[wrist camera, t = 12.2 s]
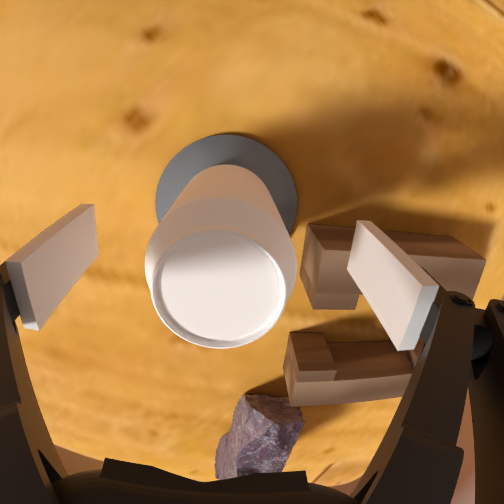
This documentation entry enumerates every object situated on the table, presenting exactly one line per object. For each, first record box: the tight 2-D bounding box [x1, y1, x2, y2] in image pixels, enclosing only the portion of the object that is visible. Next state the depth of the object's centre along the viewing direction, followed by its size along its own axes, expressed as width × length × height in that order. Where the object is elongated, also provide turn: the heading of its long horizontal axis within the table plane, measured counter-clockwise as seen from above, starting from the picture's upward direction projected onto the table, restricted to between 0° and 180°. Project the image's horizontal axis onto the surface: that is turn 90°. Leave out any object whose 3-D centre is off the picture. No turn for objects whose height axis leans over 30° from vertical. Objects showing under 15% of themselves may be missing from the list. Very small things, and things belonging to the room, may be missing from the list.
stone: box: [215, 394, 305, 480], centre depth 28 cm, size 10×6×15 cm
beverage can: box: [145, 164, 297, 348], centre depth 17 cm, size 6×6×12 cm
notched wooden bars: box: [283, 224, 486, 407], centre depth 25 cm, size 14×14×5 cm
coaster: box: [156, 135, 297, 234], centre depth 23 cm, size 10×10×1 cm
